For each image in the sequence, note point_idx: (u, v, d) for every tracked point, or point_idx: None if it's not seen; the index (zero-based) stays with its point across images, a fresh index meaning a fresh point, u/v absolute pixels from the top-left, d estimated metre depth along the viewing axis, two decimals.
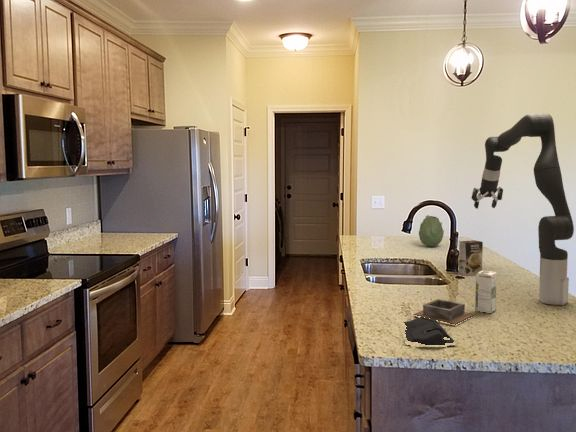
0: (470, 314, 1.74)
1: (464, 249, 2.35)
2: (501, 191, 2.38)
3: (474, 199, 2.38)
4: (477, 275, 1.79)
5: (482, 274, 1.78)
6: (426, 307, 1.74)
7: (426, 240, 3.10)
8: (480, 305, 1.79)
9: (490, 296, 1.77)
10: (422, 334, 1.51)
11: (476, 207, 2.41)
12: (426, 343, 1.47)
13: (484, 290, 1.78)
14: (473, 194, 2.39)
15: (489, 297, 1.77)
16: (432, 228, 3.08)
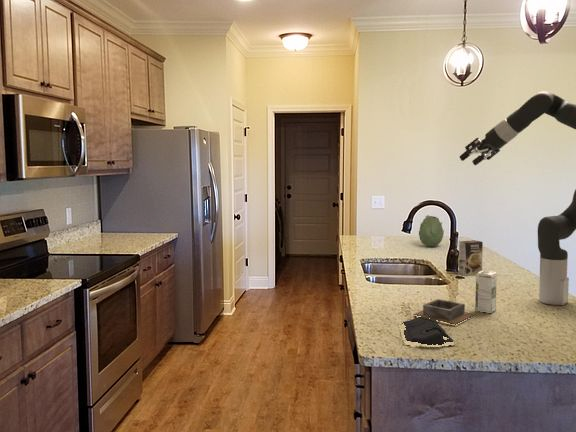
0: (470, 314, 1.74)
1: (464, 249, 2.35)
2: (496, 152, 1.86)
3: (469, 151, 1.81)
4: (477, 275, 1.79)
5: (482, 274, 1.78)
6: (426, 307, 1.74)
7: (426, 240, 3.10)
8: (480, 305, 1.79)
9: (490, 296, 1.77)
10: (421, 333, 1.51)
11: (462, 159, 1.85)
12: (425, 343, 1.47)
13: (484, 290, 1.78)
14: (472, 145, 1.80)
15: (489, 297, 1.77)
16: (432, 228, 3.08)
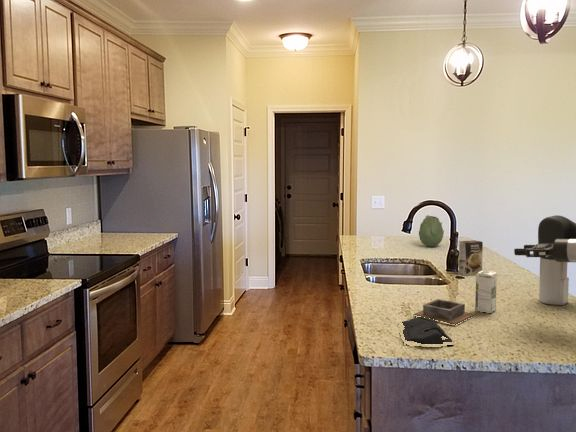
0: (470, 314, 1.74)
1: (464, 249, 2.35)
2: None
3: (528, 256, 1.60)
4: (477, 275, 1.79)
5: (482, 274, 1.78)
6: (426, 307, 1.74)
7: (426, 240, 3.10)
8: (480, 305, 1.79)
9: (490, 296, 1.77)
10: (420, 333, 1.51)
11: (516, 254, 1.65)
12: (424, 343, 1.47)
13: (484, 290, 1.78)
14: (535, 253, 1.59)
15: (489, 297, 1.77)
16: (432, 228, 3.08)
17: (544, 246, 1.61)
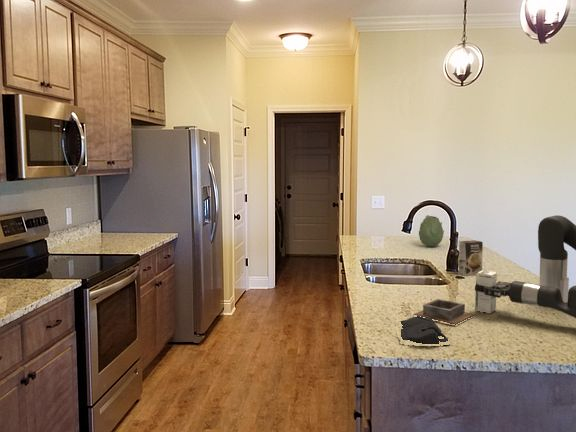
0: (470, 314, 1.74)
1: (464, 249, 2.35)
2: None
3: (486, 294, 1.74)
4: (477, 275, 1.79)
5: (482, 274, 1.78)
6: (426, 307, 1.74)
7: (426, 240, 3.10)
8: (479, 305, 1.79)
9: (490, 296, 1.77)
10: (417, 333, 1.52)
11: None
12: (420, 342, 1.48)
13: None
14: (491, 292, 1.72)
15: (489, 297, 1.77)
16: (432, 228, 3.08)
17: (502, 286, 1.74)
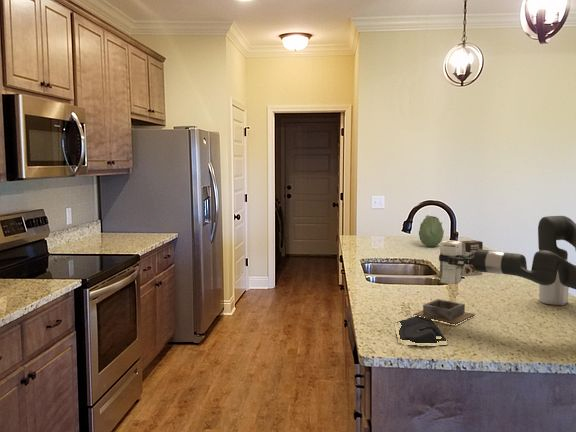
0: (470, 314, 1.74)
1: (464, 249, 2.35)
2: None
3: (450, 264, 1.67)
4: (441, 244, 1.72)
5: (446, 243, 1.71)
6: (426, 307, 1.74)
7: (426, 240, 3.10)
8: (444, 275, 1.72)
9: (454, 266, 1.69)
10: (415, 332, 1.52)
11: None
12: (418, 342, 1.48)
13: None
14: (454, 261, 1.65)
15: (453, 267, 1.70)
16: (432, 228, 3.08)
17: (466, 255, 1.66)
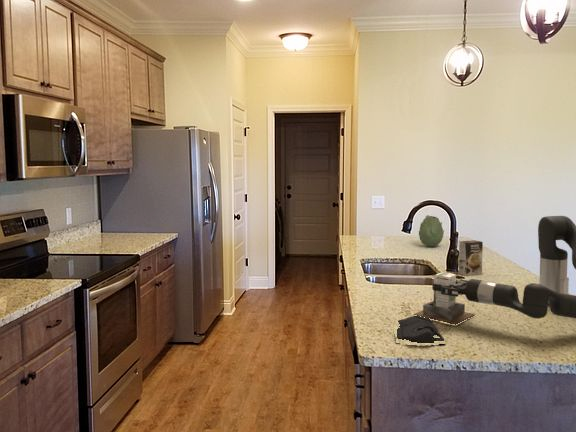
0: (470, 314, 1.74)
1: (464, 249, 2.35)
2: None
3: (443, 294, 1.68)
4: (435, 277, 1.74)
5: (440, 276, 1.72)
6: (426, 307, 1.74)
7: (426, 240, 3.10)
8: None
9: (448, 299, 1.71)
10: (413, 332, 1.53)
11: None
12: (415, 341, 1.49)
13: None
14: (448, 291, 1.66)
15: (446, 300, 1.72)
16: (432, 228, 3.08)
17: (459, 285, 1.68)
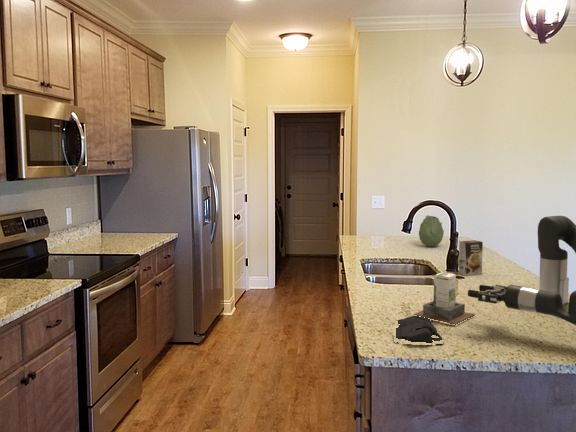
0: (470, 314, 1.74)
1: (464, 249, 2.35)
2: None
3: (480, 300, 1.58)
4: (435, 277, 1.74)
5: (440, 276, 1.72)
6: (426, 307, 1.74)
7: (426, 240, 3.10)
8: None
9: (448, 299, 1.71)
10: (411, 332, 1.53)
11: None
12: (413, 341, 1.49)
13: (441, 292, 1.72)
14: (486, 298, 1.56)
15: (446, 300, 1.72)
16: (432, 228, 3.08)
17: (497, 291, 1.59)
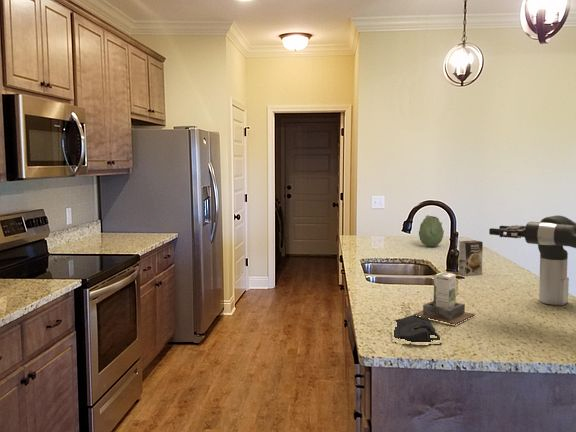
0: (470, 314, 1.74)
1: (464, 249, 2.35)
2: None
3: (501, 236, 1.69)
4: (435, 277, 1.74)
5: (440, 276, 1.72)
6: (426, 307, 1.74)
7: (426, 240, 3.10)
8: None
9: (448, 299, 1.71)
10: (409, 331, 1.54)
11: (491, 233, 1.74)
12: (411, 341, 1.50)
13: (441, 292, 1.73)
14: (507, 234, 1.67)
15: (446, 300, 1.72)
16: (432, 228, 3.08)
17: (517, 228, 1.70)
